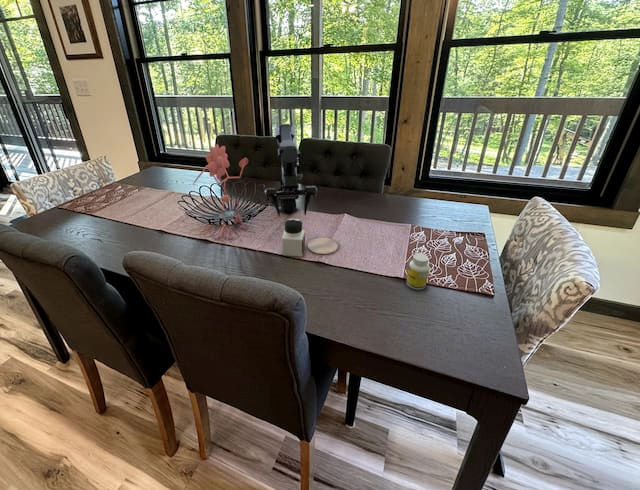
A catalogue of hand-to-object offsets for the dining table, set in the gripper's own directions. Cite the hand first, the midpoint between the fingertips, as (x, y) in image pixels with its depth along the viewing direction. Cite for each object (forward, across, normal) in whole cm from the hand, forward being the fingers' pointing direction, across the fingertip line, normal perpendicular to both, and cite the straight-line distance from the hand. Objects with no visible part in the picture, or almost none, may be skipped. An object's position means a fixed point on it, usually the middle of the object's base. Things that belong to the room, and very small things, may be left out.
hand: (292, 215), depth 111 cm
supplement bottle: (+28, +35, -11) cm, 46 cm away
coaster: (+10, +11, +6) cm, 16 cm away
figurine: (-1, -27, +18) cm, 32 cm away
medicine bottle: (+12, 0, +5) cm, 13 cm away
